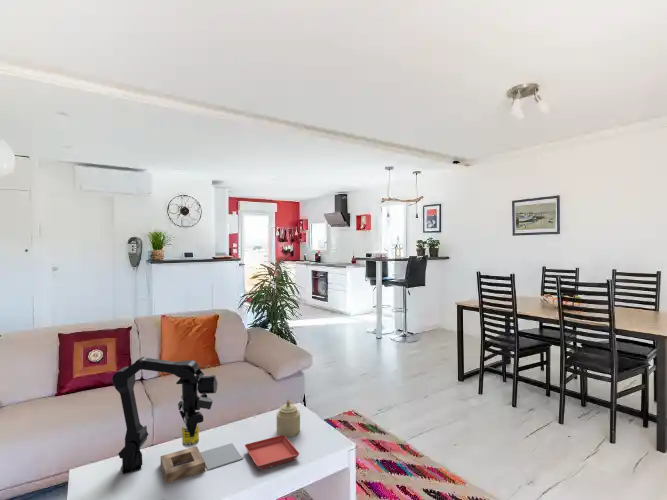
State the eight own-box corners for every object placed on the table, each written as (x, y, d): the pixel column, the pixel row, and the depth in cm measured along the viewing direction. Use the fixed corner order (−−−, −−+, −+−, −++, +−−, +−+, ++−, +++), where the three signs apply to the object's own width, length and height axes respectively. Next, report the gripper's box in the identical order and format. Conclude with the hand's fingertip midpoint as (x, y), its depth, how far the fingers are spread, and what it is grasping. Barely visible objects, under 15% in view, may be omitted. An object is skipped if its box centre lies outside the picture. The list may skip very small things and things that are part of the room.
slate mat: (207, 470, 149) (207, 469, 149) (199, 453, 160) (199, 452, 160) (242, 459, 156) (242, 458, 156) (232, 443, 168) (232, 443, 168)
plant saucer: (283, 441, 171) (283, 433, 171) (300, 461, 155) (300, 453, 155) (244, 452, 162) (243, 444, 162) (257, 474, 146) (257, 466, 146)
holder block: (166, 483, 141) (166, 474, 141) (160, 464, 152) (160, 456, 152) (205, 471, 148) (205, 462, 148) (196, 454, 160) (196, 445, 160)
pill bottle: (183, 449, 147) (182, 421, 147) (181, 442, 153) (181, 415, 153) (200, 445, 150) (199, 417, 150) (197, 438, 156) (197, 411, 155)
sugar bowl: (269, 425, 184) (269, 395, 184) (290, 420, 190) (290, 390, 190) (282, 439, 172) (282, 406, 172) (304, 432, 178) (304, 400, 177)
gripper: (216, 397, 147) (217, 437, 148) (204, 382, 163) (205, 418, 164) (186, 404, 142) (187, 445, 142) (177, 387, 157) (178, 425, 158)
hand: (190, 432), depth 151 cm, fingers closed on pill bottle, 6 cm apart
